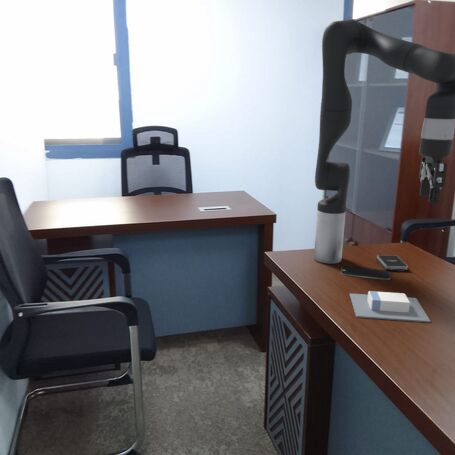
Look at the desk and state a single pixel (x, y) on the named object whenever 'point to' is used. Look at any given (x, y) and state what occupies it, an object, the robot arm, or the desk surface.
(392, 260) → the external hard drive
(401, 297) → the card box
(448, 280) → the desk surface
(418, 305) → the mat
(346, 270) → the smartphone
